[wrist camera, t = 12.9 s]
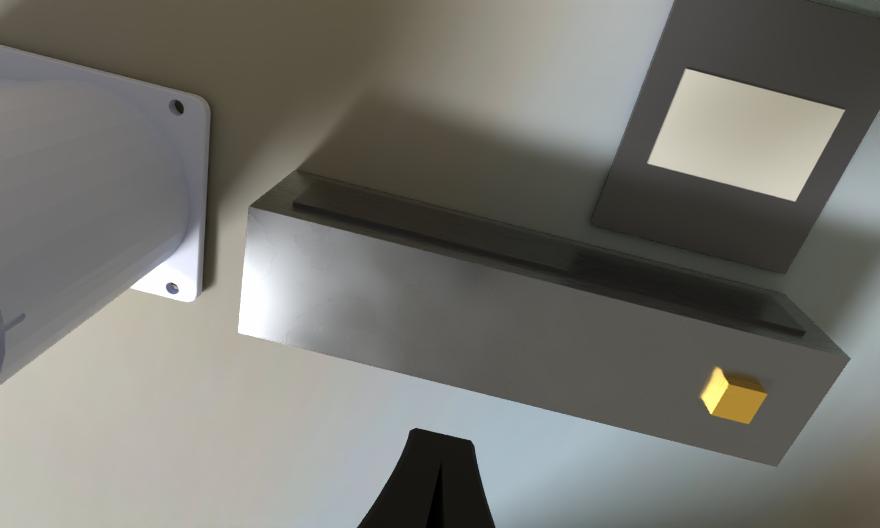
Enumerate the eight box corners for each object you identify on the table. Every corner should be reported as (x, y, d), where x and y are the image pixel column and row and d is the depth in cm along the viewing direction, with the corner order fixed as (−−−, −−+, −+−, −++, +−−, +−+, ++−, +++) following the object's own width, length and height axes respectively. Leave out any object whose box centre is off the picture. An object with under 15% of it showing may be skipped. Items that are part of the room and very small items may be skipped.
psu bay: (282, 277, 21) (232, 339, 17) (295, 165, 19) (243, 205, 15) (729, 390, 21) (782, 476, 17) (787, 290, 19) (861, 362, 15)
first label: (590, 222, 19) (591, 225, 19) (686, -31, 16) (689, -32, 15) (782, 271, 19) (786, 275, 19) (919, 30, 16) (926, 31, 16)
